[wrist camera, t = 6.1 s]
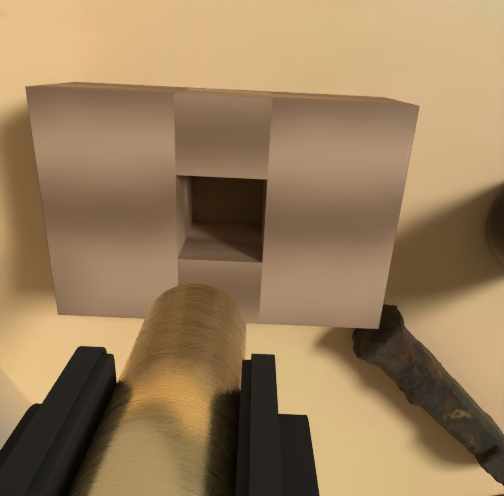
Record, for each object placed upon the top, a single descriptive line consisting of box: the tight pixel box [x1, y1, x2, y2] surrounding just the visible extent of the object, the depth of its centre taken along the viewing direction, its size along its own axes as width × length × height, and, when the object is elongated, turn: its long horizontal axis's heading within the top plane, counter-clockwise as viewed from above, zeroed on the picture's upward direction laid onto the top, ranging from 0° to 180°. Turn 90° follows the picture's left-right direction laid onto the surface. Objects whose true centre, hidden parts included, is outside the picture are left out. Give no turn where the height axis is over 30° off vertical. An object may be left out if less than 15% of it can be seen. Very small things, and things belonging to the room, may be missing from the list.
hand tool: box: [352, 305, 504, 486], centre depth 32 cm, size 19×4×5 cm, turn 42°
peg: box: [67, 284, 246, 496], centre depth 9 cm, size 3×3×10 cm
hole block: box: [25, 82, 419, 329], centre depth 25 cm, size 12×18×6 cm, turn 87°
